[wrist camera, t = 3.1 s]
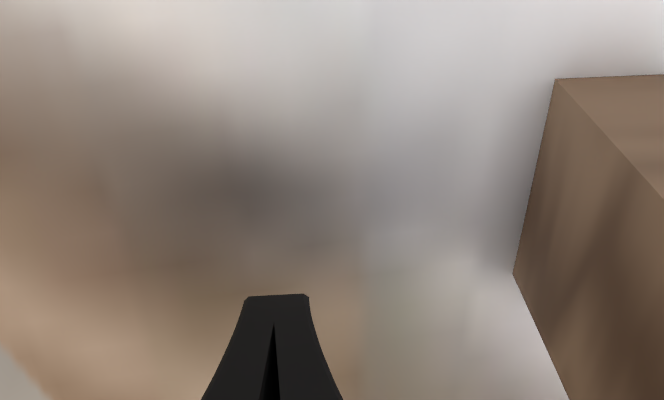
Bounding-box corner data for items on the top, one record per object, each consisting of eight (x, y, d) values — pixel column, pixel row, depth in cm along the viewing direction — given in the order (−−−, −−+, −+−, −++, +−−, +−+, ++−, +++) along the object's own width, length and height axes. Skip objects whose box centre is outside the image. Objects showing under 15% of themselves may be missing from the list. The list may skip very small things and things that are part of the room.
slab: (600, 268, 20) (753, 508, 13) (512, 273, 19) (623, 517, 13) (665, 74, 15) (935, 281, 9) (555, 78, 15) (747, 291, 9)
